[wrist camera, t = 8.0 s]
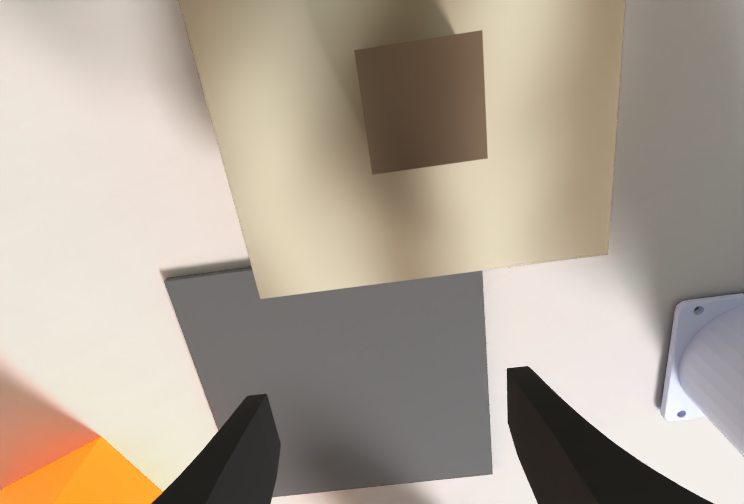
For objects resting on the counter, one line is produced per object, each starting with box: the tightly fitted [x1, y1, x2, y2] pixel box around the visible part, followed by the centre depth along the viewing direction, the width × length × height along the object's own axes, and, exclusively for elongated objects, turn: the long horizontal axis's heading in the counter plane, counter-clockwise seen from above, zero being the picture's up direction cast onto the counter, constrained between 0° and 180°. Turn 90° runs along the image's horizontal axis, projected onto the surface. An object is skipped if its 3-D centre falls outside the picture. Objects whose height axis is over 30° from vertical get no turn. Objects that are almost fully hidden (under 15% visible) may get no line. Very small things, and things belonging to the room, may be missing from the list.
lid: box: [178, 0, 626, 299], centre depth 13 cm, size 13×13×4 cm
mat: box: [164, 267, 493, 497], centre depth 26 cm, size 16×16×1 cm
